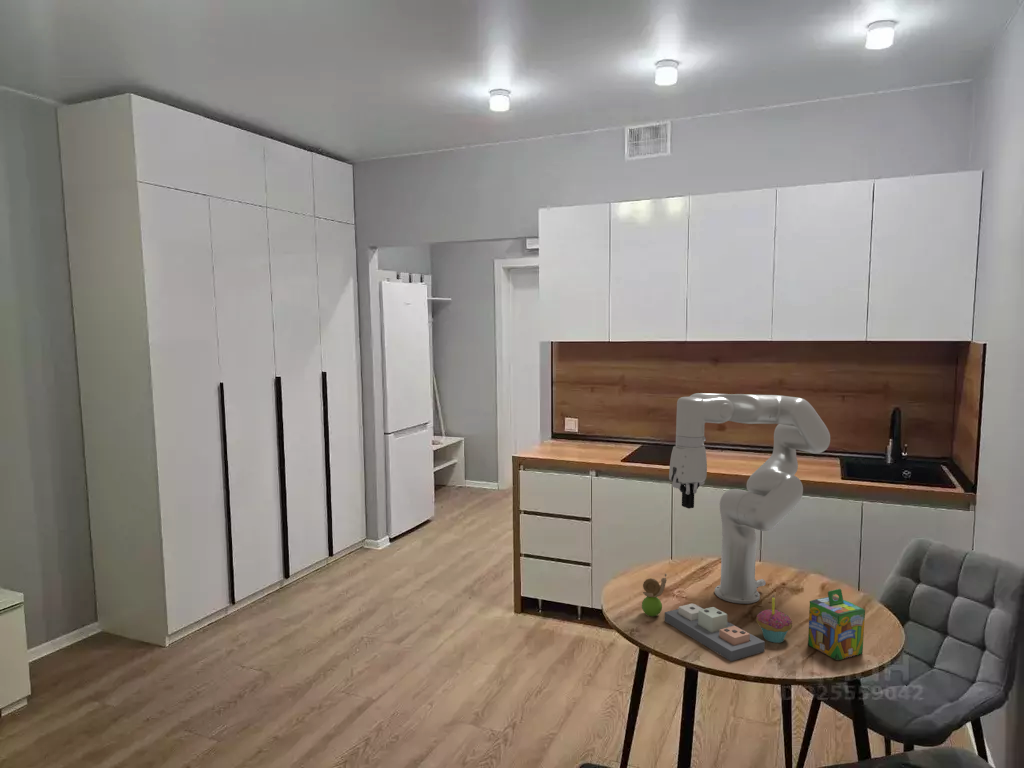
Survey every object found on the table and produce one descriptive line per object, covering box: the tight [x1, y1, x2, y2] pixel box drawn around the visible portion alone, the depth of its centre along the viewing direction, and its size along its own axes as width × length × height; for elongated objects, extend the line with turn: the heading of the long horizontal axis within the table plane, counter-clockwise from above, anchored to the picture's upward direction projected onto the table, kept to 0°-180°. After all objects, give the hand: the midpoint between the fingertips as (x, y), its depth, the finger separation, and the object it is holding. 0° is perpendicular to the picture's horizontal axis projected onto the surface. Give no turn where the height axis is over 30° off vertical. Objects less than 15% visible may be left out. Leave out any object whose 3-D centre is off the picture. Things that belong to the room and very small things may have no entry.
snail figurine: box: [641, 573, 667, 617], centre depth 182 cm, size 5×6×12 cm
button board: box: [664, 604, 766, 662], centre depth 171 cm, size 24×11×2 cm, turn 27°
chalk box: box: [807, 588, 866, 661], centre depth 164 cm, size 9×9×15 cm
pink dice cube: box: [719, 625, 751, 646], centre depth 164 cm, size 5×5×4 cm
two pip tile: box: [698, 606, 728, 633], centre depth 171 cm, size 5×5×4 cm
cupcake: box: [755, 595, 793, 644], centre depth 169 cm, size 9×8×12 cm
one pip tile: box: [678, 603, 704, 621], centre depth 177 cm, size 5×5×4 cm
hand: (687, 506), depth 185 cm, fingers closed
